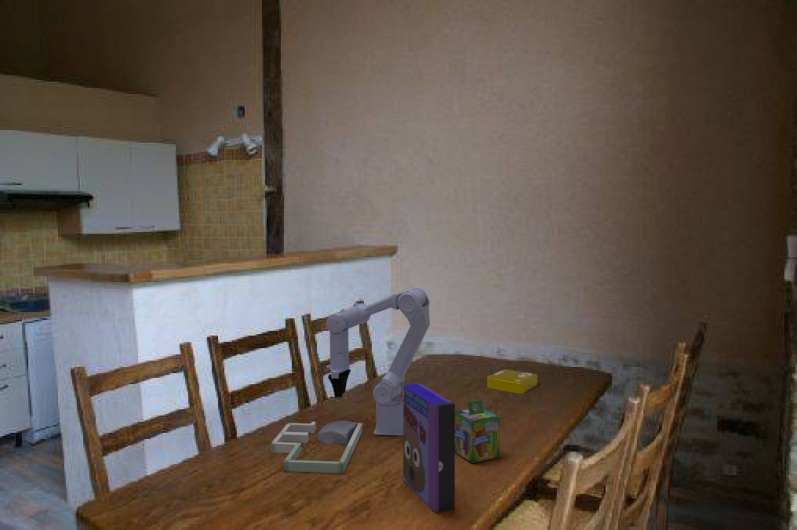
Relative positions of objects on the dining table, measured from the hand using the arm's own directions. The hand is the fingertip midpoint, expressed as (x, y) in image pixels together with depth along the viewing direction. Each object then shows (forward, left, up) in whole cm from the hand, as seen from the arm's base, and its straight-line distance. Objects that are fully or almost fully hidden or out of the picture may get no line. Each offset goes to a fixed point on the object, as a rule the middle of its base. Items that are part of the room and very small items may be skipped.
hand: (340, 395), depth 186 cm
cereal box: (-30, +44, -10) cm, 54 cm away
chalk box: (-42, +20, -10) cm, 47 cm away
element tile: (-56, -47, -10) cm, 74 cm away
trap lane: (+3, +20, -9) cm, 22 cm away
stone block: (-1, +10, -10) cm, 14 cm away
